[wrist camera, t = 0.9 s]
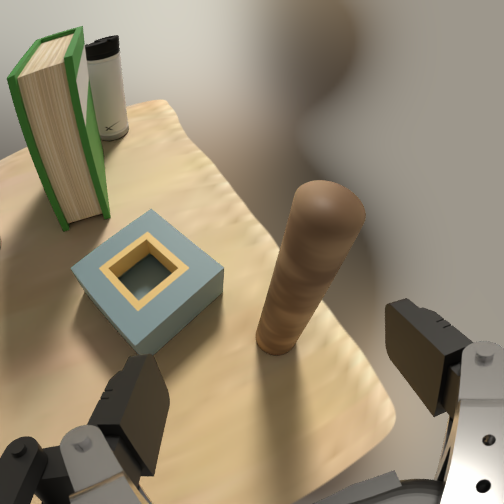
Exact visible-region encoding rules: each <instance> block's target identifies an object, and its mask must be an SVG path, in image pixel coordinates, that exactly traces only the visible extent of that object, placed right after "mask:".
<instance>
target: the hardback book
mask: <svg viewBox="0 0 504 504" xmlns="http://www.w3.org/2000/svg"><path fill="white" fill-rule="evenodd" d="M7 81H8V85H9V89H10V92H11V96H12V100H13V103H14V107H15V110H16V113H17V117H18V120H19V123H20V126H21V129H22V132H23V135H24V138H25V141H26V143H27V146H28V149H29V152H30V155H31V157H32V160H33V163H34V165H35V168H36V170H37V173H38V175H39V178H40V180H41V183H42V185H43V187H44V190H45V192H46V194H47V197H48V199H49V201H50V203H51V206H52V208H53V210H54V212H55V214H56V217H57V219H58V221H59V223H60V225H61V227H62V229H63V231H68V230H69V223H71V222H75V221H78V220H81V219H85V218H88V217H91V216H95V215H98V214H102V213H103V216H104V219H108V218H111V217H110V209H109V202H108V194H107V185H106V176H105V166H104V155H103V148H102V143H101V139H100V134H99V129H98V124H97V119H96V114H95V109H94V104H93V98H92V92H91V86H90V80H89V73H88V66H87V59H86V52H85V43H84V34H83V26H81V27H77V28H73V29H70V30H66V31H63V32H59V33H56V34H53V35H50V36H47V37H44V38H41V39H38V40H36V41H35V42H34V44H33V45H32V46H31V47H30V48H29V50H28V51H27V52H26V53H25V55H24V56H23V57H22V58H21V60H20V61H19V62H18V64H17V65H16V66H15V68H14V69H13V71H12V72H11V73H10V75H9V76H8V77H7Z"/></svg>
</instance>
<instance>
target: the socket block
mask: <svg viewBox="0 0 504 504" xmlns="http://www.w3.org/2000/svg"><path fill="white" fill-rule="evenodd" d="M71 270H72V272H73V273H74V275H75V277H76V278H77V280H78V282H79V283H80V285H81V286H82V288H83V290H84V291H85V292H86V294H87V295H88V296H89V298H90V299H91V300H92V301H93V302H94V304H95V305H96V306H97V307H98V309H99V310H100V311H101V312H102V313H103V315H104V316H105V317H106V318H107V319H108V321H109V322H110V323H111V324H112V325H113V326H114V328H115V329H116V330H117V331H118V332H119V333H120V334H121V336H122V337H123V338H124V339H125V340H126V341H127V342H128V343H129V345H130V346H131V347H132V348H133V349H134V350H135V351H136V352H137V353H138V354H139V355H143V354H152V355H154V354H155V353H156V352H158V351H159V350H160V349H161V348H162V347H163V346H164V345H165V344H166V343H167V342H169V341H170V340H171V339H172V338H173V337H174V336H175V335H176V334H177V333H178V332H180V331H181V330H182V329H183V328H184V327H185V326H186V325H187V324H188V323H189V322H190V321H192V320H193V319H194V318H195V317H196V316H197V315H198V314H199V313H200V312H201V311H203V310H204V309H205V308H206V307H207V306H208V305H209V304H210V303H211V302H212V301H213V300H215V299H216V298H217V297H218V296H219V295H220V294H221V293H222V292H223V279H224V267H223V266H221V265H220V264H219V263H218V262H216V261H215V260H214V259H213V258H211V257H210V256H209V255H208V254H206V253H205V252H204V251H203V250H201V249H200V248H199V247H198V246H196V245H195V244H194V243H193V242H191V241H190V240H189V239H188V238H186V237H185V236H184V235H183V234H181V233H180V232H179V231H178V230H177V229H175V228H174V227H173V226H172V225H170V224H169V223H168V222H167V221H166V220H164V219H163V218H162V217H161V216H159V215H158V214H157V213H156V212H155V211H153V210H152V209H150V210H149V211H147V212H146V213H145V214H143V215H142V216H140V217H139V218H137V219H136V220H134V221H133V222H132V223H130V224H129V225H127V226H126V227H125V228H123V229H122V230H120V231H119V232H118V233H116V234H115V235H113V236H112V237H111V238H109V239H108V240H107V241H105V242H104V243H103V244H101V245H100V246H98V247H97V248H96V249H94V250H93V251H92V252H91V253H89V254H88V255H87V256H85V257H84V258H83V259H81V260H80V261H79V262H77V263H76V264H75V265H74V266H72V267H71Z"/></svg>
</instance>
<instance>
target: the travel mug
mask: <svg viewBox="0 0 504 504" xmlns="http://www.w3.org/2000/svg"><path fill="white" fill-rule="evenodd" d="M119 49H120V48H119V36H118V35H116V36H109V37H105V38H102V39H98V40H96V41H94V43H91V44H89V45H88V44H87V45H85V52H86V59H87V66H88V73H89V80H90V86H91V92H92V98H93V104H94V109H95V114H96V119H97V124H98V129H99V134H100V139H102V140H107V141H109V140H115V139H118V138H121V137H122V136H124V135H125V134H126V133H127V132H128V130H129V125H128V118H127V111H126V104H125V95H124V87H123V78H122V68H121V57H120V50H119Z"/></svg>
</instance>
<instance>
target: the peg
mask: <svg viewBox="0 0 504 504" xmlns="http://www.w3.org/2000/svg"><path fill="white" fill-rule="evenodd" d="M365 216H366V213H365V209H364V206H363V204H362V203H361V201H360V200H359V198H358V197H357V196H356V195H355V194H354V193H353V192H351V191H350V190H349V189H347V188H345V187H344V186H341V185H339V184H336V183H333V182H329V181H321V180H318V181H311V182H307V183H305V184H303V185H301V186H300V187H299V188H298V189H297V191H296V193H295V195H294V199H293V203H292V207H291V210H290V214H289V218H288V221H287V225H286V229H285V232H284V237H283V240H282V243H281V247H280V251H279V254H278V258H277V261H276V265H275V269H274V272H273V276H272V279H271V283H270V286H269V290H268V293H267V297H266V300H265V304H264V307H263V311H262V314H261V318H260V321H259V324H258V328H257V331H256V341H257V343H258V345H259V347H260V348H261V349H262V350H263V351H264V352H266V353H268V354H271V355H283V354H285V353H287V352H289V351H290V350H291V349H292V348H293V346H294V345H295V343H296V341H297V340H298V338H299V337H300V335H301V333H302V332H303V330H304V328H305V327H306V325H307V324H308V322H309V320H310V319H311V317H312V315H313V314H314V312H315V310H316V309H317V307H318V305H319V303H320V302H321V300H322V298H323V297H324V294H325V293H326V291H327V290H328V288H329V286H330V284H331V282H332V281H333V279H334V277H335V276H336V274H337V272H338V270H339V269H340V266H341V265H342V263H343V261H344V259H345V258H346V256H347V254H348V252H349V250H350V248H351V247H352V244H353V243H354V241H355V239H356V237H357V235H358V233H359V231H360V230H361V228H362V226H363V224H364V221H365Z"/></svg>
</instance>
